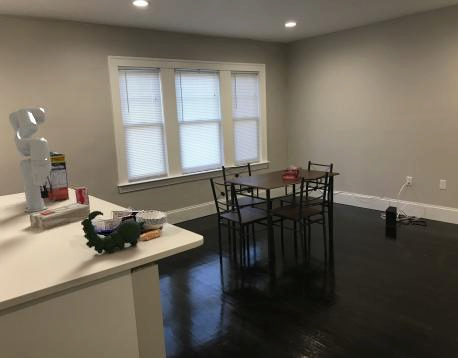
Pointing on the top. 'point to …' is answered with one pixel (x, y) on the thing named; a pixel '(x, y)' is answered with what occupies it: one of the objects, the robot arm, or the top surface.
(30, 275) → the top surface
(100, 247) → the toy figurine
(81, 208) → the console
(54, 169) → the cereal box
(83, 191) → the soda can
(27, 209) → the robot arm
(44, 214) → the red plunger
